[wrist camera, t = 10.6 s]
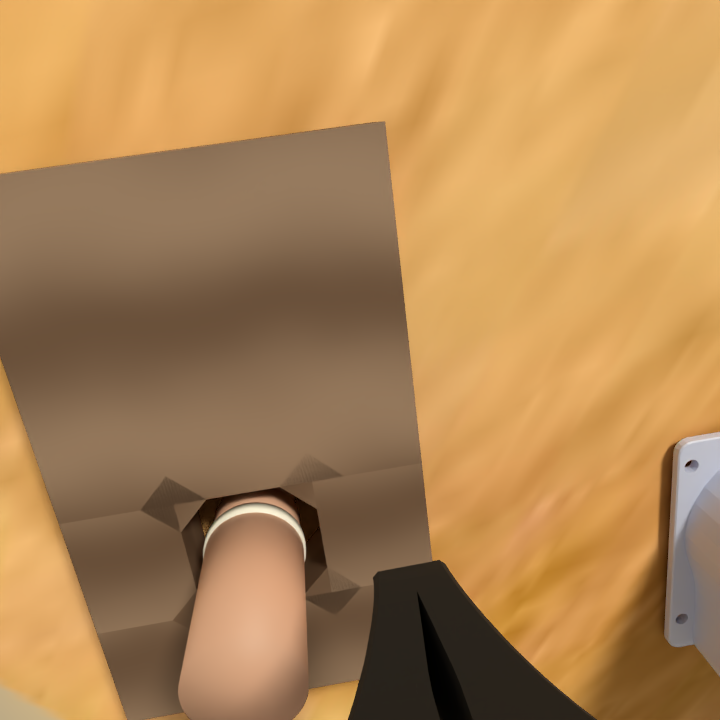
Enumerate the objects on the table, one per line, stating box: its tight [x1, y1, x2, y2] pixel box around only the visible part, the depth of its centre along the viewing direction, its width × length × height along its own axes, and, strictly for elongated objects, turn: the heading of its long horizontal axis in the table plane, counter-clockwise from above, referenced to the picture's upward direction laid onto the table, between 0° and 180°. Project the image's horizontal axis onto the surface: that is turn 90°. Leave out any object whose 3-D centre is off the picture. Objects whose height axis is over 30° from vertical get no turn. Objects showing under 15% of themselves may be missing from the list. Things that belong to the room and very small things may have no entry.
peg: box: [178, 487, 309, 720], centre depth 19 cm, size 3×3×8 cm
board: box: [0, 122, 432, 720], centre depth 20 cm, size 18×11×2 cm, turn 8°
